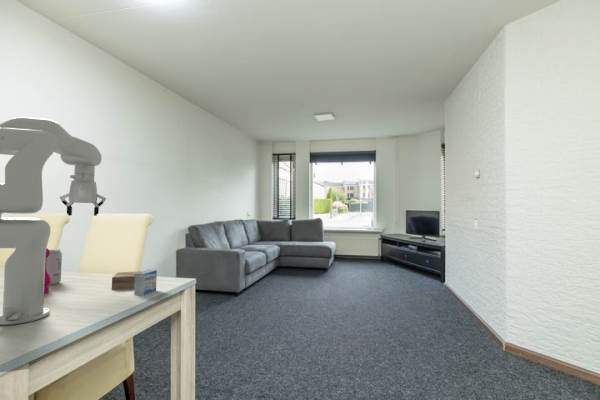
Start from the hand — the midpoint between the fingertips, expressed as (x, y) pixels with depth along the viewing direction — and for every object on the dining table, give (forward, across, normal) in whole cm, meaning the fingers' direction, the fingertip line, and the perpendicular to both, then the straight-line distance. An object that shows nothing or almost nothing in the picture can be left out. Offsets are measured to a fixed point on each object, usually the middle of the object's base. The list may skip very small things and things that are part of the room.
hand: (82, 215), depth 137 cm
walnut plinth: (+31, +20, -12) cm, 39 cm away
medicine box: (+31, +27, -26) cm, 49 cm away
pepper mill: (+31, -12, -12) cm, 35 cm away
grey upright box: (+31, -11, +3) cm, 33 cm away
